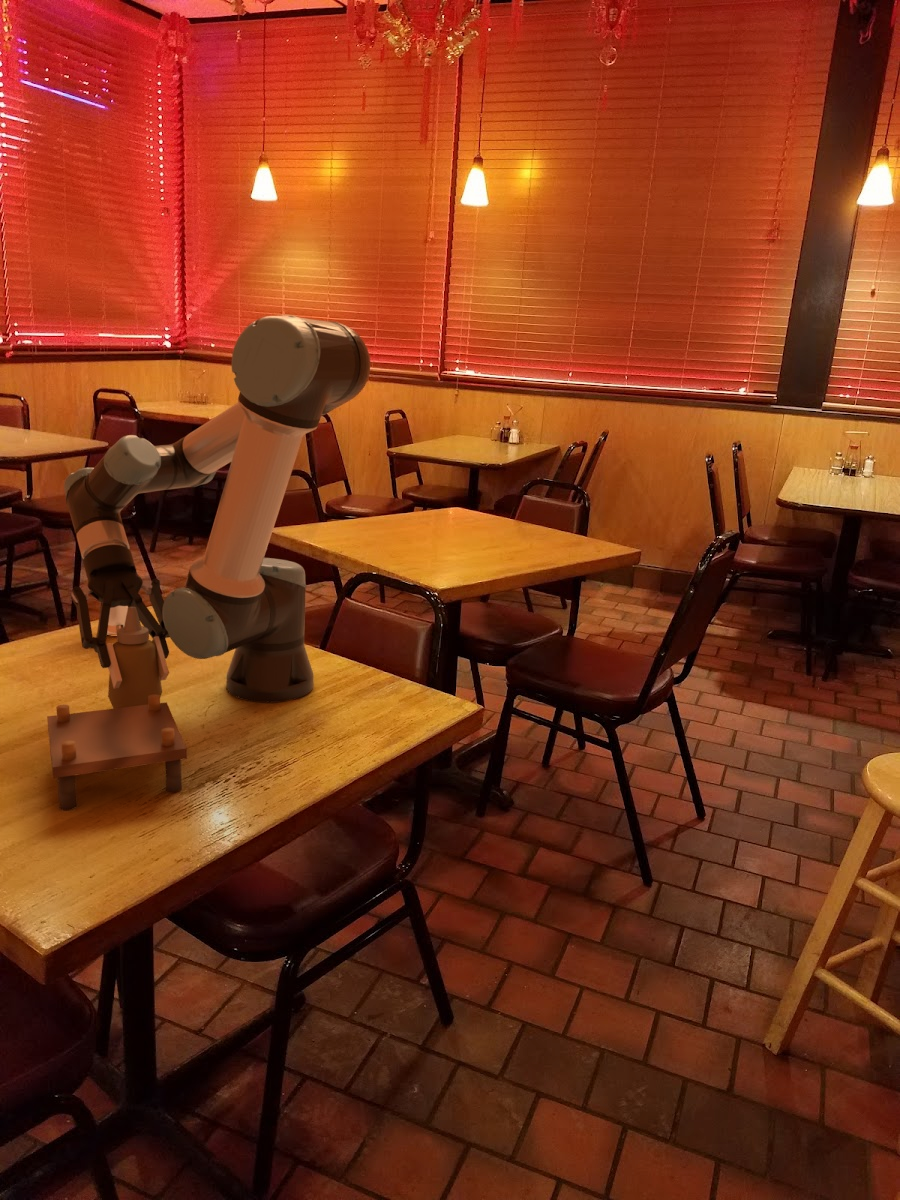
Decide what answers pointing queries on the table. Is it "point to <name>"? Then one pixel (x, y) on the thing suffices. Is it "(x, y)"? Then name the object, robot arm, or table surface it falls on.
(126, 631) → the squeeze bottle
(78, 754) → the walnut stand
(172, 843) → the table surface
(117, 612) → the beer glass
